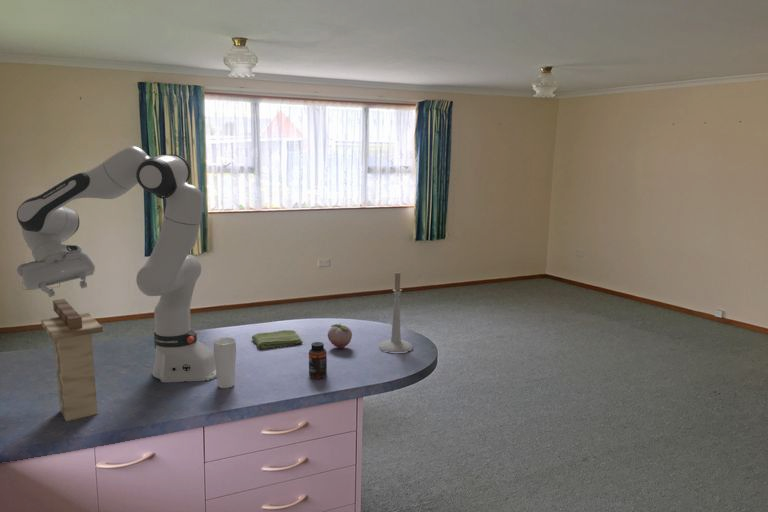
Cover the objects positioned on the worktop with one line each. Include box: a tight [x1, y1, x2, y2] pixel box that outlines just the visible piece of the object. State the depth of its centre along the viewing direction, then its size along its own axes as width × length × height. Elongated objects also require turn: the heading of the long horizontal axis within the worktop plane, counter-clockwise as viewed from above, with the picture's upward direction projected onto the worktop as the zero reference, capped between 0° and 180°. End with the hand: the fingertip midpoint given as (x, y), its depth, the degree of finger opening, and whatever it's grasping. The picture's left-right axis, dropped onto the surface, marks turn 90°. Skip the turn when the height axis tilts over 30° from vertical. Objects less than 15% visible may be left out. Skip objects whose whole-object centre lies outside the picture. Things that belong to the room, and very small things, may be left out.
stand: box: [40, 312, 104, 423], centre depth 164 cm, size 16×12×26 cm
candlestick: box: [378, 271, 413, 352], centre depth 221 cm, size 13×13×30 cm
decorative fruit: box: [327, 323, 353, 349], centre depth 221 cm, size 9×8×10 cm
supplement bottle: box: [308, 341, 328, 380], centre depth 195 cm, size 6×6×11 cm
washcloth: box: [251, 329, 303, 350], centre depth 227 cm, size 13×18×3 cm
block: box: [52, 298, 82, 330], centre depth 165 cm, size 22×3×3 cm, turn 39°
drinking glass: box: [213, 337, 237, 389], centre depth 185 cm, size 7×7×15 cm
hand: (68, 291), depth 182 cm, fingers open, 8 cm apart
